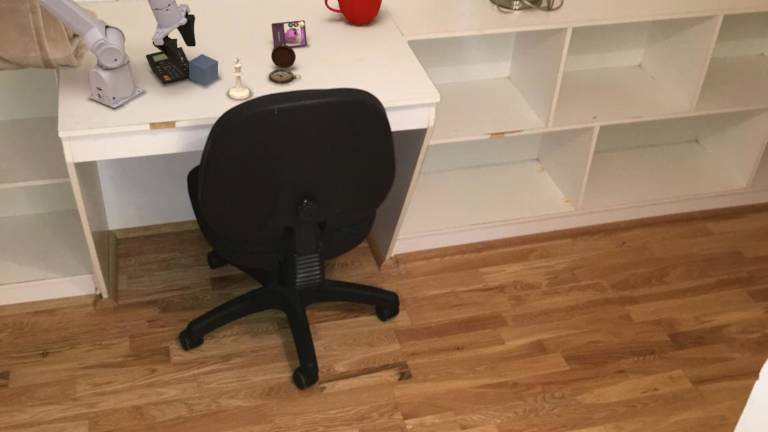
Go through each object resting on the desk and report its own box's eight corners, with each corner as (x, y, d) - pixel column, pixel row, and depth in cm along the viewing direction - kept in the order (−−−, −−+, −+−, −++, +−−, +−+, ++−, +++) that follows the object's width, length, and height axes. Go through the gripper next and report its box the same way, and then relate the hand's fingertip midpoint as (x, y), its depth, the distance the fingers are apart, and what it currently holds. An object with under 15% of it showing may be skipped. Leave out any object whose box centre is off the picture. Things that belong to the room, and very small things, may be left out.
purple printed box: (272, 23, 207) (305, 20, 209) (268, 21, 211) (300, 18, 214) (274, 49, 209) (307, 46, 212) (270, 47, 214) (303, 43, 216)
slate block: (204, 86, 193) (204, 69, 190) (189, 79, 195) (188, 61, 191) (218, 78, 197) (218, 61, 193) (202, 70, 198) (202, 53, 195)
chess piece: (224, 94, 191) (221, 57, 185) (238, 86, 194) (236, 50, 188) (240, 101, 189) (237, 64, 183) (254, 93, 192) (251, 56, 186)
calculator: (164, 85, 193) (162, 74, 191) (147, 64, 200) (145, 54, 198) (200, 76, 197) (199, 65, 195) (182, 56, 204) (180, 46, 202)
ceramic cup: (317, 15, 227) (317, -18, 221) (371, 8, 233) (373, -24, 227) (332, 35, 218) (332, 1, 212) (388, 27, 224) (390, -6, 218)
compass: (267, 83, 196) (266, 57, 191) (272, 68, 202) (271, 42, 198) (299, 86, 196) (298, 60, 191) (303, 70, 202) (303, 45, 197)
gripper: (163, 20, 171) (185, 72, 180) (192, -14, 181) (212, 37, 190) (135, 20, 173) (159, 72, 183) (166, -13, 183) (187, 38, 192)
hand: (184, 54), depth 186 cm, fingers open, 7 cm apart
